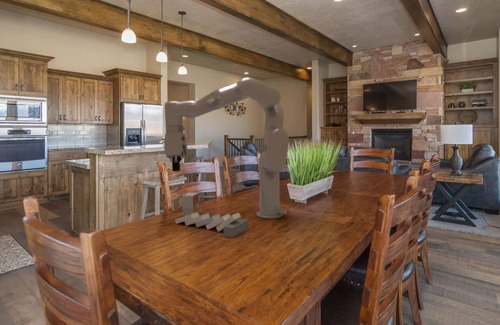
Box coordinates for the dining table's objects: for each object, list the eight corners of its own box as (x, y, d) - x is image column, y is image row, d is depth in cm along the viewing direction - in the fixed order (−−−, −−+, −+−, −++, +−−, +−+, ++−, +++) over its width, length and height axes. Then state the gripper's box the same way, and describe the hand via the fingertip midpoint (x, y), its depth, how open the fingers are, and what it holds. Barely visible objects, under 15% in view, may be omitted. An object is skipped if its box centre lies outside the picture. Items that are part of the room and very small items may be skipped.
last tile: (225, 228, 130) (241, 216, 126) (218, 231, 126) (234, 219, 122) (222, 224, 131) (238, 212, 126) (215, 227, 127) (231, 215, 122)
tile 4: (214, 226, 133) (231, 217, 128) (207, 229, 129) (224, 221, 124) (212, 222, 133) (229, 213, 129) (205, 225, 129) (222, 216, 124)
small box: (193, 217, 148) (192, 195, 146) (182, 217, 149) (181, 195, 148) (199, 213, 155) (198, 192, 154) (188, 212, 156) (188, 192, 155)
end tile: (183, 221, 142) (199, 216, 137) (176, 223, 138) (192, 218, 133) (182, 216, 142) (198, 211, 137) (174, 219, 138) (190, 214, 133)
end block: (248, 229, 129) (248, 220, 128) (232, 238, 119) (232, 227, 118) (239, 228, 131) (239, 218, 130) (223, 236, 120) (223, 226, 120)
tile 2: (193, 222, 139) (209, 217, 134) (186, 225, 135) (202, 220, 130) (192, 218, 139) (208, 212, 134) (184, 221, 135) (201, 215, 130)
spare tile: (195, 223, 132) (212, 216, 127) (202, 220, 136) (219, 213, 131) (196, 227, 132) (213, 221, 127) (204, 224, 136) (220, 218, 131)
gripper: (193, 129, 136) (194, 170, 138) (168, 130, 144) (170, 169, 145) (181, 129, 130) (183, 172, 132) (155, 130, 137) (158, 171, 139)
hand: (176, 170), depth 138 cm, fingers closed
